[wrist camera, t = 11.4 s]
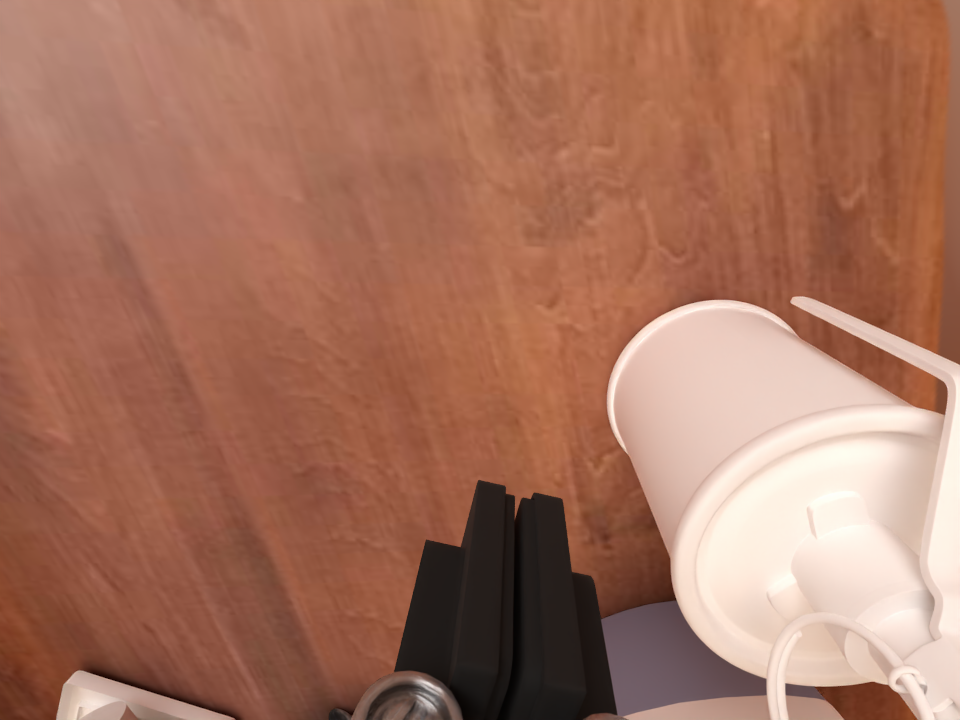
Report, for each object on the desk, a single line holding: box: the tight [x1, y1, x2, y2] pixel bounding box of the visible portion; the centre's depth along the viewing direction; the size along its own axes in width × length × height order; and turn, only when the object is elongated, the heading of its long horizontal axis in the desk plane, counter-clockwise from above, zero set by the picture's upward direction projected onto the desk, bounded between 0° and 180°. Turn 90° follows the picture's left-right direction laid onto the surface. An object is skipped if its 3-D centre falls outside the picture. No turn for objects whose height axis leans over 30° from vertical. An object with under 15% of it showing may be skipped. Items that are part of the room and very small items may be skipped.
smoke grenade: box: [607, 297, 960, 720], centre depth 16 cm, size 10×9×20 cm
